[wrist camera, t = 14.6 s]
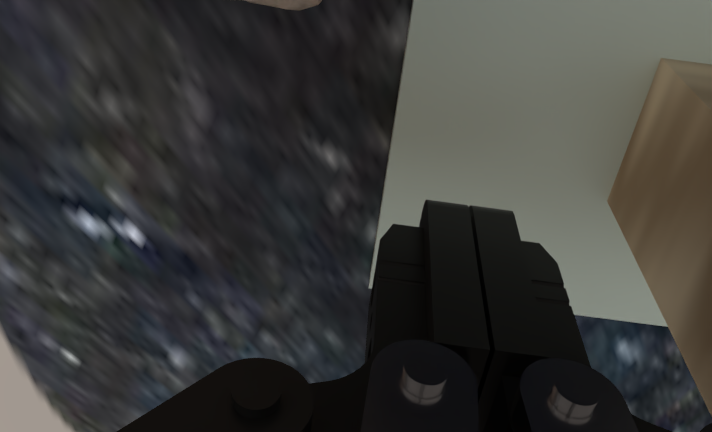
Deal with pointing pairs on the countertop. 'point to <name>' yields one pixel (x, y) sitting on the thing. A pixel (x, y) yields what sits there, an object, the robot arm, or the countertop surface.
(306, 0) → the brick
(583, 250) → the flat grey rectangular slab
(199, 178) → the countertop surface
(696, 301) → the beech block
